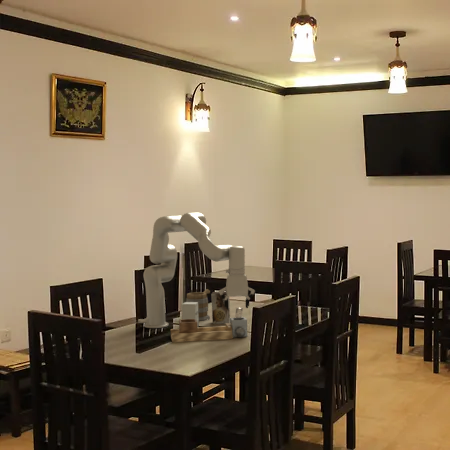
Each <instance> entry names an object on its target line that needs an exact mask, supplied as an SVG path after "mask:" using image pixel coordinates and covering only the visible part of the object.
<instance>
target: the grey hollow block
mask: <svg viewBox="0 0 450 450" xmlns="http://www.w3.org/2000/svg"><path fill="white" fill-rule="evenodd" d="M229 324H230V325H231V327H232V336H233V338H241V339H242V338H245V337H246V338H247V337H248V319H247V318H246V317H245V316H242V320H235V317H230V323H229Z"/></svg>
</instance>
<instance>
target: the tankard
mask: <svg viewBox="0 0 450 450" xmlns="http://www.w3.org/2000/svg"><path fill="white" fill-rule="evenodd" d="M207 294H211V290H210V289H209V288H206V289H205V290H204V291H203V292H201V291H198V292H197V291H195V292H189V293H186V298H185V302H198V317H199V322H200V321H201V322H202V321H203V322H204V321H207V319H208V320H210V319H211V316H210V315H209V314H208V312H209V299H208V295H207Z"/></svg>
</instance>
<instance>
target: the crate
mask: <svg viewBox="0 0 450 450" xmlns="http://www.w3.org/2000/svg"><path fill="white" fill-rule="evenodd" d="M198 328H199V326H197V320H196V319H182V318H181V319H178V329H179V333H196V332H198Z"/></svg>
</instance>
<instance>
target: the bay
mask: <svg viewBox="0 0 450 450" xmlns="http://www.w3.org/2000/svg"><path fill="white" fill-rule="evenodd" d="M233 338H234V337H233V336H232V327H231V325H230V323H226V324H225V325H220V326H204V327H200V326H199V327H198V332H196V333H179V328H171V329H170V339H171V342H172V343H177V342H178V343H180V342H183V343H184V342H197V341H200V342H201V341H212V340H215V341H216V340H232V339H233Z"/></svg>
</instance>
